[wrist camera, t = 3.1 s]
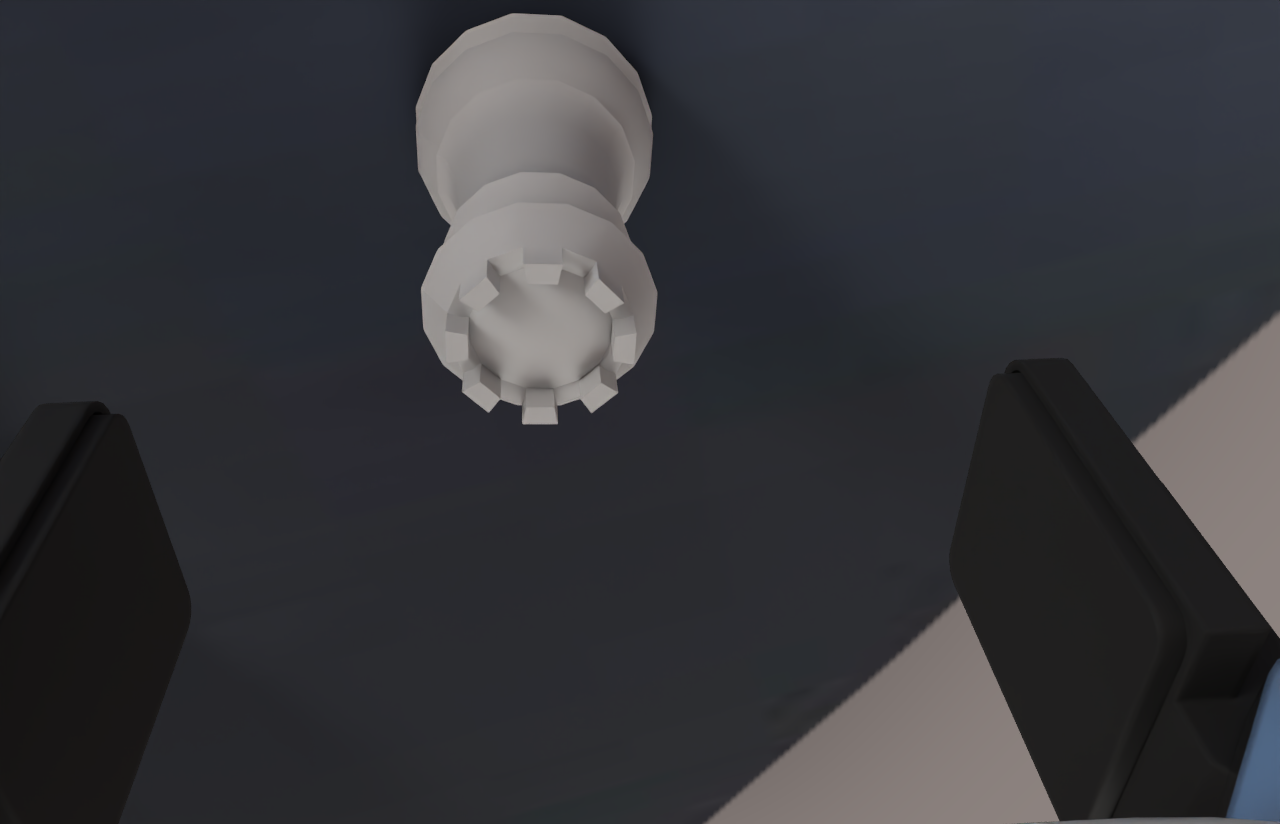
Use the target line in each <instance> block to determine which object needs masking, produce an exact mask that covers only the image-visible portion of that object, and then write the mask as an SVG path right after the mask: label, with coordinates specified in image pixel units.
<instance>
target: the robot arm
mask: <svg viewBox="0 0 1280 824" xmlns="http://www.w3.org/2000/svg"><path fill="white" fill-rule="evenodd" d="M949 563H950V572H951V576H952V580H953V583H954V585H955V587H956V590H957V592H958V594H959V596H960V599H961V601H962V603H963V605H964V608H965V610H966V612H967V614H968V616H969V619H970V621H971V623H972V626H973V628H974V630H975V632H976V635H977V637H978V639H979V641H980V643H981V646H982V648H983V650H984V652H985V655H986V657H987V659H988V661H989V663H990V666H991V668H992V670H993V673H994V675H995V677H996V679H997V681H998V684H999V686H1000V688H1001V691H1002V693H1003V695H1004V697H1005V699H1006V702H1007V704H1008V706H1009V708H1010V711H1011V713H1012V715H1013V717H1014V720H1015V722H1016V724H1017V726H1018V729H1019V731H1020V733H1021V735H1022V738H1023V740H1024V742H1025V744H1026V747H1027V749H1028V751H1029V753H1030V756H1031V758H1032V760H1033V762H1034V764H1035V767H1036V769H1037V771H1038V773H1039V776H1040V778H1041V780H1042V782H1043V785H1044V787H1045V789H1046V791H1047V794H1048V796H1049V798H1050V800H1051V803H1052V805H1053V807H1054V809H1055V811H1056V814H1057V816H1058V818H1059V822H1038V823H1019V824H1280V638H1279V637H1278V636H1277V634H1276V633H1275V632H1274V630H1273V629H1272V628H1271V626H1270V625H1269V624H1268V622H1267V621H1266V620H1265V618H1264V617H1263V616H1262V615H1261V613H1260V612H1259V610H1258V609H1257V608H1256V606H1255V605H1254V604H1253V602H1252V601H1251V600H1250V598H1249V597H1248V596H1247V594H1246V593H1245V592H1244V590H1243V589H1242V588H1241V586H1240V585H1239V584H1238V583H1237V581H1236V580H1235V579H1234V577H1233V576H1232V575H1231V573H1230V572H1229V570H1228V569H1227V568H1226V566H1225V565H1224V564H1223V563H1222V561H1221V560H1220V559H1219V557H1218V556H1217V555H1216V553H1215V552H1214V551H1213V549H1212V548H1211V547H1210V545H1209V544H1208V543H1207V541H1206V540H1205V539H1204V537H1203V536H1202V535H1201V533H1200V532H1199V531H1198V530H1197V528H1196V527H1195V526H1194V524H1193V523H1192V521H1191V520H1190V519H1189V517H1188V516H1187V515H1186V513H1185V512H1184V511H1183V509H1182V508H1181V507H1180V505H1179V504H1178V503H1177V501H1176V500H1175V499H1174V497H1173V496H1172V495H1171V493H1170V492H1169V491H1168V490H1167V488H1166V487H1165V485H1164V484H1163V483H1162V482H1161V481H1160V480H1159V478H1158V477H1157V476H1156V475H1155V473H1154V472H1153V470H1152V469H1151V468H1150V466H1149V465H1148V464H1147V462H1146V461H1145V460H1144V459H1143V457H1142V456H1141V454H1140V453H1139V452H1138V450H1137V449H1136V448H1135V446H1134V445H1133V444H1132V442H1131V441H1130V440H1129V438H1128V437H1127V436H1126V434H1125V433H1124V432H1123V430H1122V429H1121V428H1120V426H1119V425H1118V424H1117V422H1116V421H1115V420H1114V418H1113V417H1112V416H1111V414H1110V413H1109V412H1108V410H1107V409H1106V408H1105V406H1104V405H1103V404H1102V403H1101V401H1100V400H1099V399H1098V397H1097V396H1096V395H1095V393H1094V392H1093V391H1092V389H1091V388H1090V387H1089V385H1088V384H1087V383H1086V381H1085V380H1084V379H1083V377H1082V376H1081V375H1080V373H1079V372H1078V371H1077V369H1076V368H1075V367H1074V365H1073V364H1072V363H1071V362H1070V361H1069V360H1068V359H1064V358H1050V359H1028V360H1014V361H1012V362H1010V364H1009V365H1008V367H1007V368H1006V370H1005V373H1004V374H996V375H994V376H993V377H992V379H991V381H990V384H989V387H988V391H987V395H986V399H985V404H984V408H983V412H982V416H981V421H980V425H979V429H978V433H977V438H976V442H975V446H974V451H973V455H972V459H971V463H970V468H969V472H968V476H967V480H966V485H965V489H964V493H963V497H962V502H961V506H960V510H959V514H958V519H957V523H956V527H955V531H954V536H953V540H952V544H951V548H950V560H949ZM190 618H191V600H190V595H189V591H188V588H187V586H186V583H185V580H184V577H183V574H182V572H181V569H180V566H179V563H178V560H177V558H176V555H175V552H174V549H173V546H172V544H171V541H170V538H169V535H168V532H167V530H166V527H165V524H164V521H163V518H162V516H161V513H160V510H159V507H158V504H157V502H156V499H155V496H154V493H153V490H152V488H151V485H150V482H149V479H148V476H147V474H146V471H145V468H144V465H143V462H142V460H141V457H140V454H139V451H138V449H137V446H136V443H135V440H134V437H133V435H132V432H131V429H130V426H129V424H128V422H127V420H126V419H125V418H124V416H123V415H120V414H110V412H109V410H108V408H107V407H106V406H105V405H104V404H103V403H101V402H98V401H92V402H70V403H48V404H42V405H39V406H38V407H37V408H36V409H35V410H34V411H33V412H32V414H31V415H30V417H29V418H28V420H27V421H26V423H25V424H24V426H23V427H22V429H21V430H20V432H19V433H18V435H17V436H16V438H15V439H14V441H13V442H12V444H11V445H10V447H9V448H8V450H7V451H6V453H5V454H4V456H3V457H2V459H1V460H0V824H118V823H119V820H120V818H121V815H122V812H123V809H124V806H125V804H126V801H127V798H128V795H129V792H130V790H131V787H132V784H133V781H134V779H135V776H136V773H137V770H138V767H139V765H140V762H141V759H142V756H143V753H144V751H145V748H146V745H147V742H148V740H149V737H150V734H151V731H152V728H153V726H154V723H155V720H156V717H157V714H158V712H159V709H160V706H161V703H162V701H163V698H164V695H165V692H166V689H167V687H168V684H169V681H170V678H171V675H172V673H173V670H174V667H175V664H176V662H177V659H178V656H179V653H180V650H181V648H182V645H183V642H184V639H185V636H186V634H187V631H188V628H189V624H190Z"/></svg>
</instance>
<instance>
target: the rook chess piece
mask: <svg viewBox="0 0 1280 824" xmlns="http://www.w3.org/2000/svg"><path fill="white" fill-rule="evenodd" d="M416 121H417V124H416V139H417V157H418V171H419V173H420V175H421V177H422V179H423V181H424V183H425V185H426V187H427V189H428V191H429V193H430V195H431V197H432V199H433V201H434V203H435V205H436V207H437V209H438V211H439V213H440V215H441V217H442V218H444V219H445V220H446V221H447V222H448V223H449V224H450V225H451V227H450V229H449V231H448V234H447V236H446V238H445V241H444V244H443V245H442V246H441V247H440V248H439V249H438V250H437V252H436V254H435V257H434V259H433V261H432V264H431V266H430V269H429V271H428V273H427V276H426V278H425V280H424V283H423V285H422V287H421V296H422V313H423V329H424V331H425V333H426V335H427V336H428V338H429V340H430V342H431V344H432V346H433V347H434V349H435V351H436V353H437V355H438V357H439V358H440V360H441V362H442V364H443V365H444V366H445V367H446V368H448V369H449V370H450V371H451V372H453V373H454V374H455V375H456V376H458V377H459V378H460V379H461V380H463V386H462V392H463V393H464V394H466V395H467V396H468V397H469V398H471V399H472V400H473V401H474V402H476V403H477V404H478V405H479V406H481V407H482V408H483V409H484V410H486V411H487V412H488V413H489V412H490V411H491V409H492V408H493V407H494V406H495V405H496V403H497V402H498V401H499V400H503V401H506V402H509V403H512V404H515V405H522V424H558V413H557V405H563V404H566V403H569V402H572V401H575V400H578V399H581V400H582V402H583V403H584V404H585V405H586V407H587V408H588V409H589V411H590V412H591V413H592V412H594V411H595V410H596V409H598V408H599V407H600V406H601V405H603V404H604V403H605V402H607V401H608V400H609V399H610V398H612V397H613V396H614V395H616V394H617V393H618V388H617V379H618V378H620V377H621V376H622V375H624V374H625V373H626V372H627V371H629V370H630V369H631V368H633V367H634V365H635V364H636V362H637V360H638V359H639V357H640V355H641V353H642V352H643V350H644V348H645V346H646V345H647V343H648V341H649V339H650V338H651V336H652V334H653V333H654V325H655V314H656V303H657V293H658V292H657V290H656V287H655V284H654V282H653V279H652V276H651V274H650V271H649V268H648V266H647V263H646V260H645V258H644V255H643V253H642V252H641V251H640V250H639V249H638V248H637V247H636V246H635V245H634V244H633V243H632V242H631V241H630V238H629V236H628V233H627V230H626V228H625V225H624V223H625V222H627V220H628V218H629V216H630V214H631V212H632V211H633V209H634V207H635V205H636V203H637V201H638V199H639V197H640V195H641V193H642V192H643V190H644V188H645V186H646V184H647V182H648V180H649V178H650V166H651V154H652V142H653V132H652V129H651V123H652V114H651V111H650V108H649V105H648V102H647V99H646V96H645V93H644V90H643V87H642V84H641V81H640V78H639V75H638V72H637V71H636V70H635V69H634V68H633V67H632V66H631V65H630V63H629V62H628V61H627V60H626V59H625V58H624V57H623V56H622V54H621V53H620V52H619V51H618V50H617V49H616V48H615V47H614V45H613V44H612V43H611V42H610V41H609V40H608V39H607V38H606V37H605V36H603V35H601V34H599V33H597V32H595V31H593V30H590V29H588V28H586V27H584V26H582V25H580V24H578V23H576V22H574V21H572V20H570V19H567V18H565V17H563V16H558V15H537V14H516V13H511V14H509V15H506V16H503V17H501V18H498V19H495V20H493V21H490V22H487V23H485V24H482V25H479V26H477V27H474V28H472V29H469V30H466V31H465V32H464V33H463V34H462V35H461V36H460V37H459V38H458V39H457V40H456V41H455V42H454V43H453V44H452V45H451V46H450V47H449V48H448V49H447V50H446V51H445V52H444V53H443V54H442V55H441V56H440V57H439V58H438V59H437V60H436V61H435V62H434V63H433V64H432V66H431V68H430V71H429V74H428V76H427V79H426V82H425V84H424V87H423V89H422V92H421V95H420V97H419V100H418V103H417V105H416Z"/></svg>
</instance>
